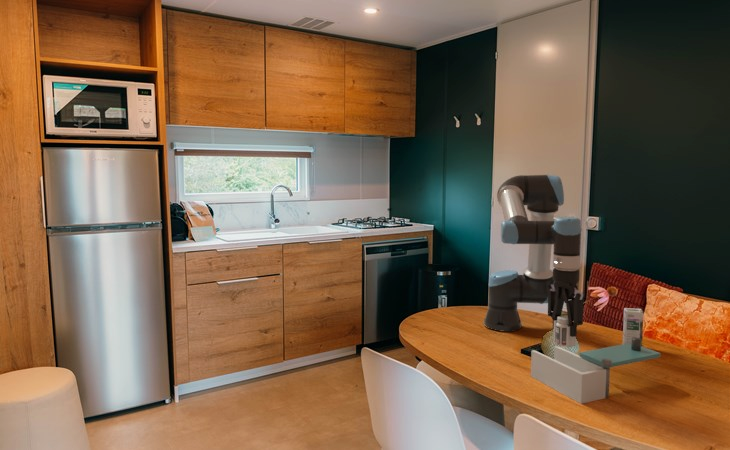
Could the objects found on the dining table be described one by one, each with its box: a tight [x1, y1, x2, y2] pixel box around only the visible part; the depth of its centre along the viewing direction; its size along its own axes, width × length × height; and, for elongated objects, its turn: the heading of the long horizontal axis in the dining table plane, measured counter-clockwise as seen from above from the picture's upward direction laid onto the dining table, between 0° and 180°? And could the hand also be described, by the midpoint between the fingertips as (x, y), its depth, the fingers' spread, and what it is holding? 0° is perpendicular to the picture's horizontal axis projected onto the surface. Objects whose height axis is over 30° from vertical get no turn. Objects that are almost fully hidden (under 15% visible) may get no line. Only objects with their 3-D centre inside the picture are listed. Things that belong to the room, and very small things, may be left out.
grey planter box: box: [530, 345, 611, 405], centre depth 158 cm, size 11×22×9 cm, turn 22°
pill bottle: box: [555, 315, 569, 347], centre depth 159 cm, size 5×5×8 cm
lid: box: [578, 337, 661, 369], centre depth 158 cm, size 11×22×5 cm, turn 112°
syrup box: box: [622, 307, 644, 347], centre depth 191 cm, size 6×6×14 cm
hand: (564, 343), depth 159 cm, fingers closed on pill bottle, 5 cm apart
